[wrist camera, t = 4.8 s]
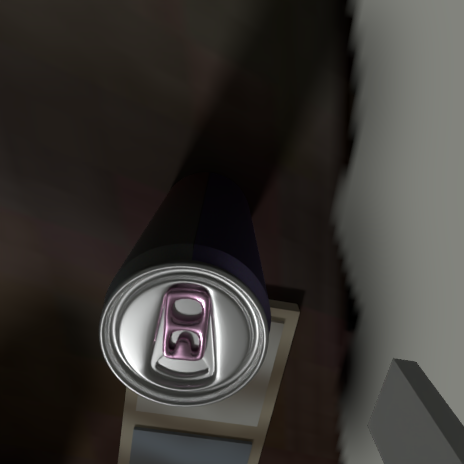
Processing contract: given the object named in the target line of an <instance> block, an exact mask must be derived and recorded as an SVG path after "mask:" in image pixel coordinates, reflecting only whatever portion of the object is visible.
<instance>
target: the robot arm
mask: <svg viewBox="0 0 464 464" xmlns="http://www.w3.org/2000/svg"><path fill="white" fill-rule="evenodd" d="M367 426H368V428H369V430H370V433H371V435H372V437H373V440H374V442H375V444H376V446H377V448H378V451H379V453H380V456H381V458H382V460H383V462H384V464H464V426H463V425H462V423H461V422H460V421H459V419H458V418H457V417H456V415H455V414H454V413H453V411H452V410H451V409H450V407H449V406H448V404H447V403H446V402H445V400H444V399H443V398H442V396H441V395H440V394H439V392H438V391H437V390H436V388H435V387H434V385H433V384H432V383H431V381H430V380H429V379H428V377H427V376H426V375H425V373H424V372H423V371H422V369H421V368H420V367H419V365H418V364H417V362H414V361H408V360H401V359H394V358H393V360H392V362H391V365H390V367H389V370H388V373H387V375H386V378H385V381H384V383H383V386H382V389H381V391H380V394H379V397H378V399H377V402H376V404H375V407H374V410H373V412H372V415H371V417H370V420H369V423H368V425H367Z"/></svg>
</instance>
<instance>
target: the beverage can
mask: <svg viewBox="0 0 464 464" xmlns="http://www.w3.org/2000/svg"><path fill="white" fill-rule="evenodd" d="M270 327H271V310H270V304H269V299H268V294H267V290H266V285H265V280H264V275H263V271H262V266H261V261H260V256H259V252H258V247H257V242H256V237H255V233H254V228H253V223H252V218H251V213H250V209H249V204H248V201H247V199H246V196H245V195H244V193H243V191H242V190H241V189H240V188H239V186H238V185H237V184H235V183H234V182H233V181H232V180H230V179H229V178H227V177H225V176H222V175H220V174H216V173H210V172H201V173H195V174H192V175H189V176H187V177H185V178H183V179H181V180H180V181H178V182H177V183H176V184H175V185H174V186H173V187H172V188H171V190H170V191H169V193H168V194H167V196H166V197H165V199H164V201H163V202H162V204H161V205H160V207H159V208H158V210H157V212H156V213H155V215H154V216H153V218H152V219H151V221H150V222H149V224H148V226H147V227H146V229H145V230H144V232H143V233H142V235H141V237H140V238H139V240H138V241H137V243H136V244H135V246H134V248H133V249H132V251H131V252H130V254H129V255H128V257H127V259H126V260H125V262H124V263H123V265H122V266H121V268H120V269H119V271H118V273H117V274H116V276H115V277H114V279H113V280H112V282H111V284H110V286H109V288H108V290H107V293H106V296H105V300H104V306H103V311H102V314H101V317H100V323H99V342H100V347H101V351H102V354H103V356H104V358H105V361H106V363H107V365H108V366H109V368H110V369H111V371H112V372H113V374H114V375H115V376H116V377H117V378H118V379H119V380H120V381H121V382H122V383H123V384H124V385H125V386H126V387H127V388H129V389H130V390H132V391H133V392H135V393H136V394H138V395H140V396H142V397H144V398H146V399H148V400H151V401H153V402H156V403H160V404H164V405H168V406H175V407H198V406H204V405H209V404H213V403H216V402H219V401H222V400H224V399H226V398H228V397H230V396H232V395H234V394H235V393H237V392H238V391H240V390H241V389H242V388H244V387H245V386H246V385H247V384H248V383H249V382H250V381H251V380H252V379H253V378H254V377H255V375H256V374H257V372H258V371H259V369H260V368H261V366H262V364H263V362H264V359H265V356H266V353H267V349H268V343H269V333H270Z"/></svg>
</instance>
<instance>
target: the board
mask: <svg viewBox="0 0 464 464" xmlns="http://www.w3.org/2000/svg"><path fill="white" fill-rule="evenodd" d="M269 304H270V310H271V327H270V333H269V343H268V349H267V353H266V356H265V359H264V362H263V364H262V366H261V368H260V369H259V371H258V372H257V374H256V375H255V377H254V378H253V379H252V380H251V381H250V382H249V383H248V384H247V385H246V386H245V387H244V388H242V389H241V390H240V391H238V392H237V393H235V394H234V395H232V396H230V397H228V398H226V399H224V400H222V401H219V402H216V403H213V404H209V405H204V406H198V407H175V406H168V405H164V404H160V403H156V402H153V401H151V400H148V399H146V398H144V397H142V396H140V395H138V394H136V393H135V392H133V391H132V390H130V389H129V388H127V387H126V396H125V405H124V414H123V423H122V432H121V441H120V450H119V458H118V464H258V462H259V458H260V454H261V451H262V447H263V444H264V440H265V436H266V433H267V429H268V426H269V422H270V418H271V415H272V411H273V408H274V404H275V400H276V397H277V393H278V389H279V386H280V382H281V379H282V375H283V371H284V368H285V364H286V361H287V357H288V353H289V350H290V346H291V343H292V339H293V335H294V332H295V328H296V325H297V321H298V317H299V314H300V311H299V308H298V305H297V304H295V303H289V302H282V301H276V300H270V299H269Z"/></svg>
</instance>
